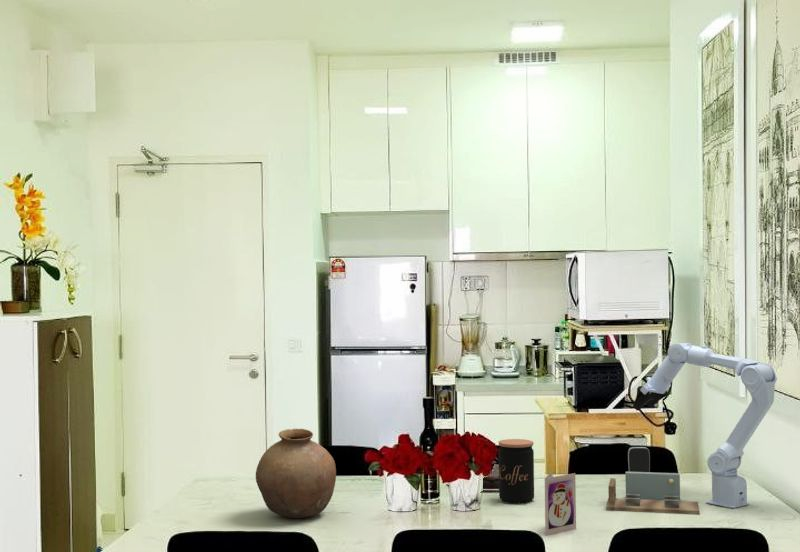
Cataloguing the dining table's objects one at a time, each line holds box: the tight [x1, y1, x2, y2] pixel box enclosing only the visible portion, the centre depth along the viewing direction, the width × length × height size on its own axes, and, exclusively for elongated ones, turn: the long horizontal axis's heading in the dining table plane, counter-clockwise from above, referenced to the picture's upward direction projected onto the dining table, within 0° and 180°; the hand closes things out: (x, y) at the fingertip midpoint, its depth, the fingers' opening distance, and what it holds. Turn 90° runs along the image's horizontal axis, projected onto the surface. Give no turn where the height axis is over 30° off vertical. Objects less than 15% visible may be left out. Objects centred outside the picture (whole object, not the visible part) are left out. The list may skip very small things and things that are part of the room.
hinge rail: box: [605, 477, 700, 515], centre depth 289 cm, size 26×12×7 cm, turn 75°
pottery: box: [255, 428, 337, 519], centre depth 284 cm, size 23×23×25 cm
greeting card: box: [544, 470, 577, 536], centre depth 265 cm, size 11×7×15 cm, turn 126°
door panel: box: [625, 471, 681, 501], centre depth 300 cm, size 16×4×8 cm, turn 75°
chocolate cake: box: [482, 463, 499, 493], centre depth 327 cm, size 28×28×7 cm
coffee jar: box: [498, 438, 535, 505], centre depth 301 cm, size 11×11×18 cm
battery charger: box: [627, 446, 651, 472], centre depth 328 cm, size 7×4×11 cm, turn 85°
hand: (641, 407), depth 313 cm, fingers open, 7 cm apart
